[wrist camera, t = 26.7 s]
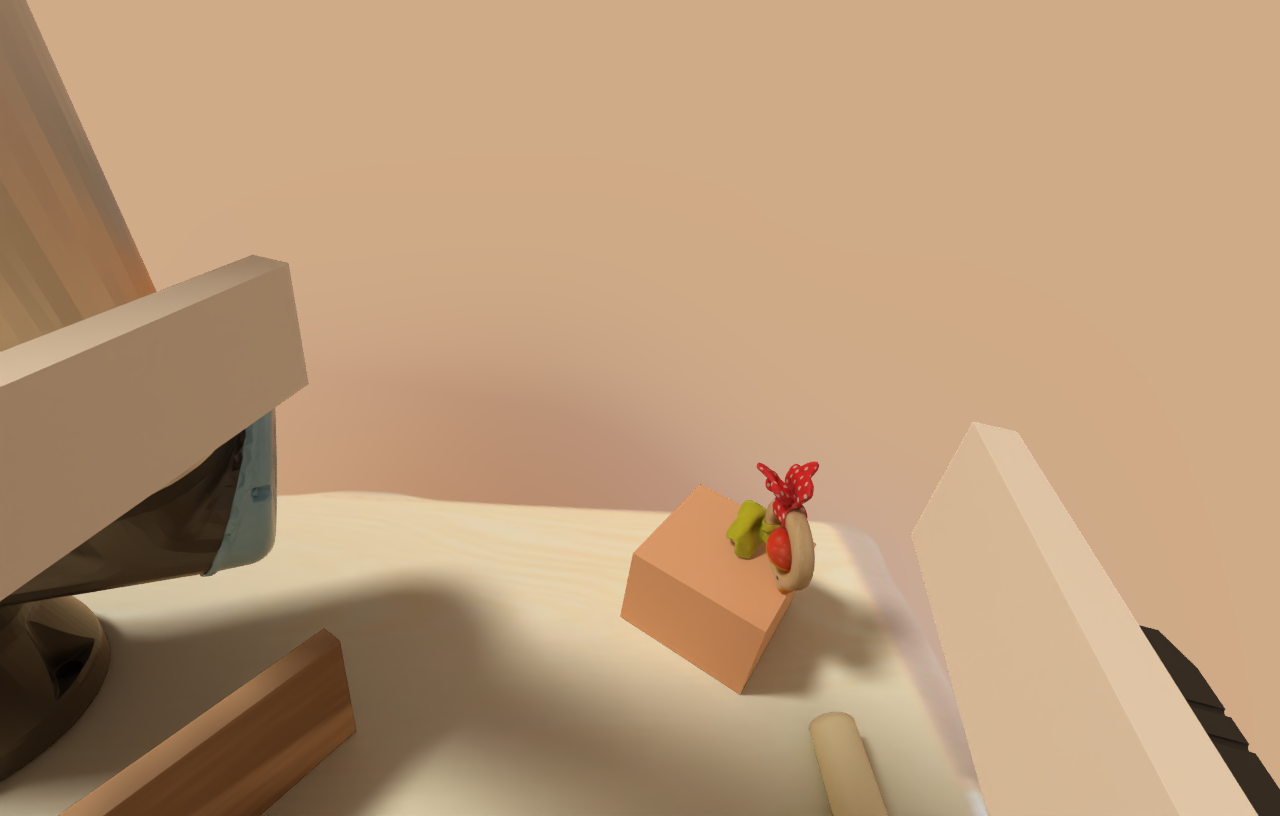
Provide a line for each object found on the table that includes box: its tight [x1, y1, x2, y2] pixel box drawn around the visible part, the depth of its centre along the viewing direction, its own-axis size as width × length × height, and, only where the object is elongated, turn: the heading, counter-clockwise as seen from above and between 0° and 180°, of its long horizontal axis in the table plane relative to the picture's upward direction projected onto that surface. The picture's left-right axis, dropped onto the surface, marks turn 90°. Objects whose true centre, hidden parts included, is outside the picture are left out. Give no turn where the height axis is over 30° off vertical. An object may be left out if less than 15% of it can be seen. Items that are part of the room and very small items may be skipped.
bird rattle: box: [726, 462, 819, 593], centre depth 48 cm, size 6×11×9 cm
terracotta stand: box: [620, 484, 816, 694], centre depth 54 cm, size 12×12×8 cm
